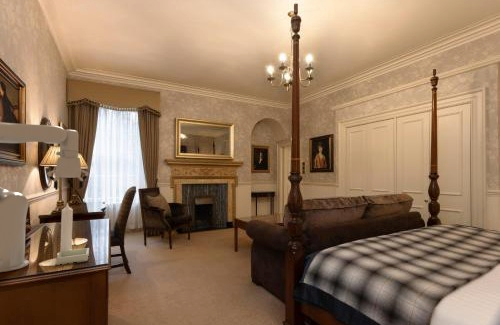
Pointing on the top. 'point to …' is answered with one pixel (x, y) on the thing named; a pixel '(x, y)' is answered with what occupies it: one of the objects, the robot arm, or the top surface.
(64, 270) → the top surface
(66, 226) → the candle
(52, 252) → the top surface
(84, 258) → the tray
